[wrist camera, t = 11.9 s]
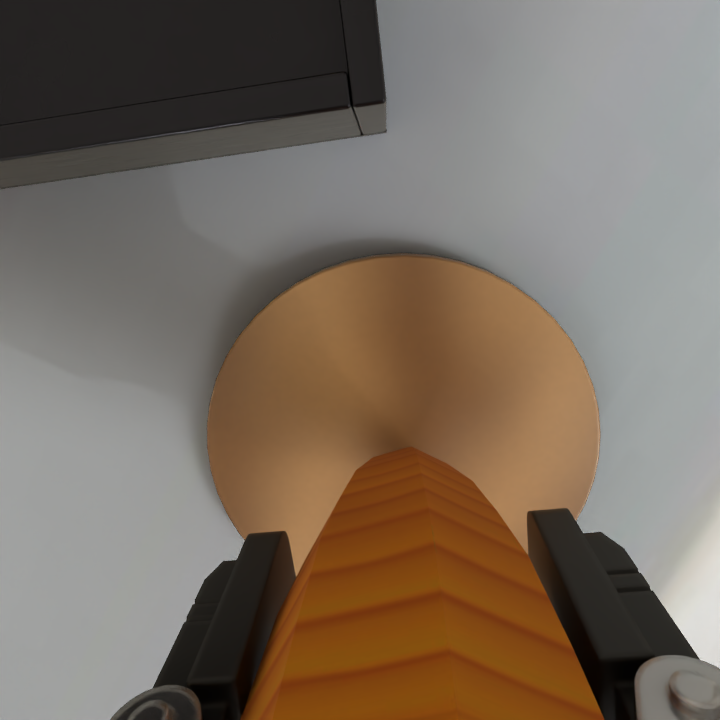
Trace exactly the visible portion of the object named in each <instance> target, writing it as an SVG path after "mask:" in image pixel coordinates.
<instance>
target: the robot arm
mask: <svg viewBox="0 0 720 720" xmlns="http://www.w3.org/2000/svg"><path fill="white" fill-rule="evenodd" d="M527 537H528V556H529V558H530V560H531V562H532V564H533V566H534V569H535V571H536V573H537V575H538V577H539V579H540V581H541V583H542V585H543V587H544V589H545V591H546V593H547V595H548V597H549V600H550V602H551V604H552V606H553V608H554V610H555V612H556V614H557V616H558V618H559V620H560V622H561V624H562V626H563V628H564V631H565V633H566V635H567V637H568V639H569V641H570V643H571V645H572V647H573V649H574V652H575V654H576V656H577V658H578V661H579V663H580V665H581V667H582V670H583V672H584V674H585V676H586V679H587V681H588V683H589V686H590V688H591V690H592V692H593V695H594V697H595V699H596V701H597V704H598V706H599V708H600V710H601V713H602V715H603V717H604V719H605V720H720V669H719V668H717V667H716V666H713V665H711V664H709V663H707V662H704V661H701V660H700V659H699V658H698V656H697V655H696V653H695V652H694V650H693V649H692V647H691V646H690V644H689V643H688V642H687V640H686V639H685V637H684V636H683V634H682V633H681V631H680V630H679V628H678V627H677V625H676V624H675V623H674V621H673V620H672V618H671V617H670V615H669V614H668V612H667V611H666V609H665V608H664V606H663V605H662V603H661V602H660V601H659V599H658V598H657V596H656V595H655V593H654V592H653V591H651V590H650V586H649V584H648V583H647V581H646V580H645V579H644V577H643V576H642V574H641V573H639V572H638V568H637V567H636V565H635V564H634V562H633V561H632V559H631V558H630V557H629V555H628V554H627V552H626V551H625V549H624V548H623V547H621V546H620V545H618V544H617V543H616V542H614V541H613V540H611V539H610V538H608V537H607V536H606V535H604V534H603V533H601V532H596V533H584V534H583V532H582V531H581V529H580V527H579V526H578V524H577V522H576V520H575V519H574V517H573V515H572V514H571V512H570V511H569V509H568V508H558V509H546V510H534V511H528V513H527ZM295 579H296V574H295V569H294V563H293V558H292V553H291V548H290V542H289V538H288V535H287V533H286V531H274V532H262V533H250V534H248V535H247V537H246V539H245V542H244V544H243V546H242V549H241V551H240V554H239V556H238V558H237V560H233V561H223V562H222V563H221V564H220V565H219V566H218V567H217V568H216V569H215V570H214V571H213V572H212V573H211V574H210V575H209V576H208V577H207V578H206V579H205V580H204V582H203V584H202V586H201V589H200V591H199V593H198V595H197V597H196V599H195V604H193V605H192V607H191V609H190V611H189V614H188V616H187V621H186V622H184V624H183V626H182V628H181V630H180V632H179V634H178V636H177V639H176V641H175V643H174V645H173V647H172V649H171V651H170V653H169V655H168V657H167V659H166V661H165V664H164V666H163V668H162V670H161V672H160V674H159V676H158V678H157V680H156V682H155V684H154V686H153V689H150V690H148V691H145V692H143V693H141V694H140V695H138V696H136V697H135V698H133V699H132V700H130V701H129V702H127V703H126V704H125V705H124V706H123V707H121V708H120V709H119V710H118V711H117V712H116V713H115V714H114V716H113V717H112V718H111V719H110V720H240V719H241V716H242V714H243V712H244V709H245V706H246V703H247V700H248V697H249V694H250V690H251V688H252V685H253V682H254V679H255V676H256V673H257V671H258V668H259V665H260V662H261V659H262V656H263V653H264V651H265V648H266V645H267V642H268V639H269V636H270V634H271V631H272V628H273V625H274V622H275V619H276V617H277V614H278V612H279V610H280V608H281V606H282V604H283V602H284V600H285V598H286V596H287V595H288V593H289V591H290V589H291V587H292V585H293V583H294V581H295Z"/></svg>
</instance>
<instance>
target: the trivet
mask: <svg viewBox="0 0 720 720" xmlns="http://www.w3.org/2000/svg"><path fill="white" fill-rule="evenodd" d="M406 447H414V448H416V449H418V450H420V451H422V452H424V453H426V454H428V455H430V456H432V457H434V458H436V459H439V460H441V461H443V462H445V463H447V464H449V465H450V466H452V467H453V468H455V469H456V470H457V471H459V472H460V473H462V474H463V475H465V476H466V477H468V478H469V479H471V480H472V481H473V482H474V483H475V484H476V486H477V487H478V488H479V489H480V491H481V492H482V493H483V494H484V495H485V497H486V498H487V499H488V500H489V502H490V503H491V504H492V505H493V507H494V508H495V509H496V510H497V511H498V513H499V514H500V516H501V517H502V519H503V520H504V521H505V523H506V524H507V526H508V527H509V529H510V530H511V532H512V533H513V534H514V536H515V537H516V539H517V540H518V542H519V543H520V544H521V546H522V547H523V549H524V550H525V552H526V553H527V554H528V537H527V513H528V511H534V510H546V509H558V508H568V509H569V511H570V512H571V514H572V515H573V517H574V519H575V520H577V518H578V516H579V514H580V513H581V511H582V509H583V507H584V505H585V503H586V501H587V498H588V495H589V493H590V490H591V487H592V484H593V482H594V478H595V473H596V468H597V464H598V459H599V447H600V421H599V409H598V405H597V400H596V396H595V392H594V387H593V384H592V381H591V379H590V376H589V374H588V371H587V369H586V366H585V364H584V361H583V360H582V358H581V356H580V354H579V353H578V351H577V349H576V347H575V346H574V344H573V342H572V341H571V339H570V338H569V336H568V335H567V334H566V333H565V331H564V330H563V329H562V328H561V326H560V325H559V324H558V323H557V321H556V320H555V319H554V318H553V317H552V316H551V315H550V314H549V313H548V312H547V311H546V310H545V309H544V308H542V307H541V306H540V305H539V304H538V303H537V302H536V301H535V300H534V299H532V298H531V297H529V296H528V295H527V294H525V293H524V292H522V291H521V290H519V289H518V288H517V287H515V286H514V285H512V284H511V283H509V282H508V281H506V280H504V279H502V278H500V277H498V276H496V275H494V274H492V273H490V272H488V271H486V270H484V269H481V268H478V267H476V266H473V265H470V264H467V263H464V262H462V261H459V260H454V259H449V258H444V257H439V256H435V255H426V254H412V253H395V254H379V255H372V256H367V257H362V258H357V259H352V260H348V261H345V262H342V263H339V264H336V265H333V266H330V267H327V268H324V269H322V270H320V271H318V272H316V273H314V274H312V275H310V276H308V277H306V278H304V279H302V280H300V281H299V282H297V283H296V284H294V285H293V286H291V287H290V288H288V289H287V290H285V291H284V292H282V293H281V294H279V295H278V296H277V297H276V298H275V299H274V300H272V301H271V302H270V303H269V304H268V305H267V306H266V307H265V308H264V309H262V310H261V311H260V312H259V313H258V314H257V315H256V316H255V317H254V318H253V319H252V321H251V322H250V323H249V324H248V325H247V327H246V328H245V329H244V330H243V331H242V333H241V334H240V335H239V336H238V338H237V340H236V341H235V343H234V344H233V346H232V348H231V349H230V351H229V353H228V354H227V356H226V358H225V360H224V362H223V365H222V367H221V369H220V371H219V374H218V376H217V378H216V382H215V385H214V389H213V393H212V396H211V400H210V405H209V413H208V421H207V449H208V455H209V462H210V468H211V473H212V476H213V479H214V483H215V486H216V489H217V493H218V495H219V497H220V499H221V502H222V504H223V506H224V508H225V510H226V512H227V514H228V516H229V518H230V519H231V521H232V522H233V524H234V526H235V527H236V529H237V530H238V532H239V533H240V535H241V536H242V537H243V538H244V540H245V539H246V537H247V535H248V534H250V533H262V532H274V531H286V533H287V535H288V538H289V542H290V548H291V553H292V558H293V563H294V569H295V574H296V577H297V575H298V573H299V571H300V569H301V567H302V565H303V563H304V561H305V559H306V557H307V555H308V554H309V552H310V550H311V548H312V546H313V545H314V543H315V541H316V539H317V537H318V536H319V534H320V532H321V530H322V529H323V527H324V525H325V523H326V521H327V520H328V518H329V516H330V514H331V512H332V511H333V509H334V507H335V505H336V503H337V502H338V500H339V498H340V496H341V495H342V493H343V491H344V490H345V488H346V486H347V484H348V483H349V481H350V479H351V478H352V476H353V474H354V472H355V471H356V470H357V469H358V468H359V467H361V466H362V465H363V464H365V463H366V462H367V461H369V460H370V459H371V458H372V457H375V456H379V455H382V454H385V453H389V452H392V451H396V450H399V449H403V448H406Z"/></svg>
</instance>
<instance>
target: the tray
mask: <svg viewBox="0 0 720 720" xmlns="http://www.w3.org/2000/svg"><path fill="white" fill-rule="evenodd" d="M386 132H387V130H386V92H385V82H384V73H383V63H382V54H381V44H380V35H379V26H378V16H377V7H376V0H0V189H5V188H11V187H18V186H25V185H32V184H39V183H46V182H53V181H59V180H66V179H73V178H80V177H87V176H94V175H100V174H107V173H114V172H121V171H128V170H135V169H141V168H148V167H155V166H162V165H169V164H176V163H182V162H189V161H196V160H203V159H210V158H217V157H223V156H230V155H237V154H244V153H251V152H258V151H265V150H271V149H278V148H285V147H292V146H299V145H306V144H312V143H319V142H326V141H333V140H340V139H347V138H353V137H360V136H367V135H374V134H381V133H386Z"/></svg>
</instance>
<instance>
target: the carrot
mask: <svg viewBox="0 0 720 720" xmlns="http://www.w3.org/2000/svg"><path fill="white" fill-rule="evenodd" d="M240 720H605V719H604V717H603V715H602V713H601V710H600V708H599V706H598V704H597V701H596V699H595V697H594V695H593V692H592V690H591V688H590V686H589V683H588V681H587V679H586V676H585V674H584V672H583V670H582V667H581V665H580V663H579V661H578V658H577V656H576V654H575V652H574V649H573V647H572V645H571V643H570V641H569V639H568V637H567V635H566V633H565V631H564V628H563V626H562V624H561V622H560V620H559V618H558V616H557V614H556V612H555V610H554V608H553V606H552V604H551V602H550V600H549V597H548V595H547V593H546V591H545V589H544V587H543V585H542V583H541V581H540V579H539V577H538V575H537V573H536V571H535V569H534V566H533V564H532V562H531V560H530V558H529V556H528V554H527V553H526V552H525V550H524V549H523V547H522V546H521V544H520V543H519V542H518V540H517V539H516V537H515V536H514V534H513V533H512V532H511V530H510V529H509V527H508V526H507V524H506V523H505V521H504V520H503V519H502V517H501V516H500V514H499V513H498V511H497V510H496V509H495V508H494V507H493V505H492V504H491V503H490V502H489V500H488V499H487V498H486V497H485V495H484V494H483V493H482V492H481V491H480V489H479V488H478V487H477V486H476V484H475V483H474V482H473V481H472V480H471V479H469V478H468V477H466V476H465V475H463V474H462V473H460V472H459V471H457V470H456V469H455V468H453V467H452V466H450V465H449V464H447V463H445V462H443V461H441V460H439V459H436V458H434V457H432V456H430V455H428V454H426V453H424V452H422V451H420V450H418V449H416V448H414V447H406V448H403V449H399V450H396V451H392V452H389V453H385V454H382V455H379V456H375V457H372V458H371V459H370V460H369V461H367V462H366V463H365V464H363V465H362V466H361V467H359V468H358V469H357V470H356V471H355V472H354V474H353V476H352V478H351V479H350V481H349V483H348V484H347V486H346V488H345V490H344V491H343V493H342V495H341V496H340V498H339V500H338V502H337V503H336V505H335V507H334V509H333V511H332V512H331V514H330V516H329V518H328V520H327V521H326V523H325V525H324V527H323V529H322V530H321V532H320V534H319V536H318V537H317V539H316V541H315V543H314V545H313V546H312V548H311V550H310V552H309V554H308V555H307V557H306V559H305V561H304V563H303V565H302V567H301V569H300V571H299V573H298V575H297V577H296V579H295V581H294V583H293V585H292V587H291V589H290V591H289V593H288V595H287V596H286V598H285V600H284V602H283V604H282V606H281V608H280V610H279V612H278V614H277V617H276V619H275V622H274V625H273V628H272V631H271V634H270V636H269V639H268V642H267V645H266V648H265V651H264V653H263V656H262V659H261V662H260V665H259V668H258V671H257V673H256V676H255V679H254V682H253V685H252V688H251V690H250V694H249V697H248V700H247V703H246V706H245V709H244V712H243V714H242V716H241V719H240Z"/></svg>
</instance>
